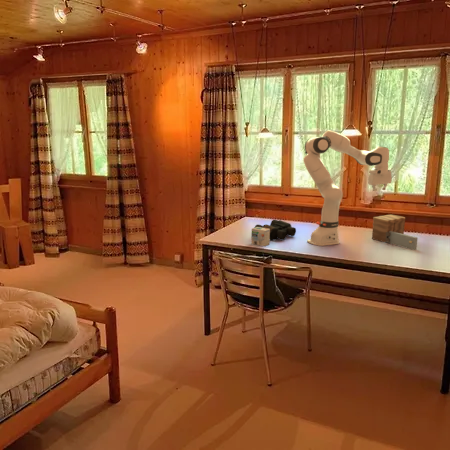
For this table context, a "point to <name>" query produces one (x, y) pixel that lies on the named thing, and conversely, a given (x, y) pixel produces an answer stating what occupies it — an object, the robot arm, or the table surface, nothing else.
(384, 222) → the brown wooden crate
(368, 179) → the robot arm
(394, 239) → the door
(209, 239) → the table surface
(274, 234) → the binoculars
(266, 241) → the light bulb box
